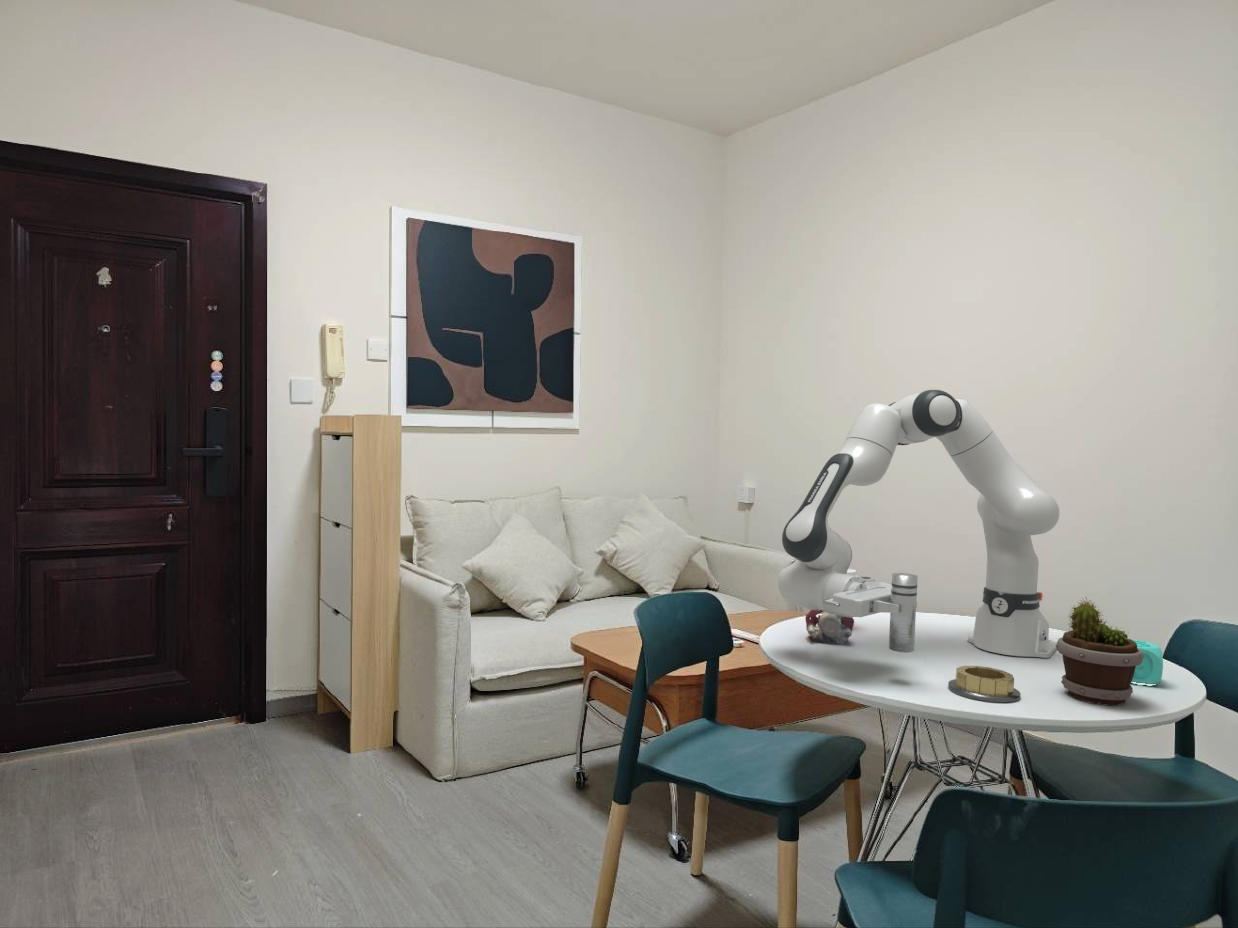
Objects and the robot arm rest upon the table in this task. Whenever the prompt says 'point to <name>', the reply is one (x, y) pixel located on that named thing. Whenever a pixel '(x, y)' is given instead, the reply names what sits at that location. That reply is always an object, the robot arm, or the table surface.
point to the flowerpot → (1097, 658)
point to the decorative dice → (1149, 664)
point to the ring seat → (984, 684)
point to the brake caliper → (828, 627)
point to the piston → (903, 612)
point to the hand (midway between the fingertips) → (907, 607)
